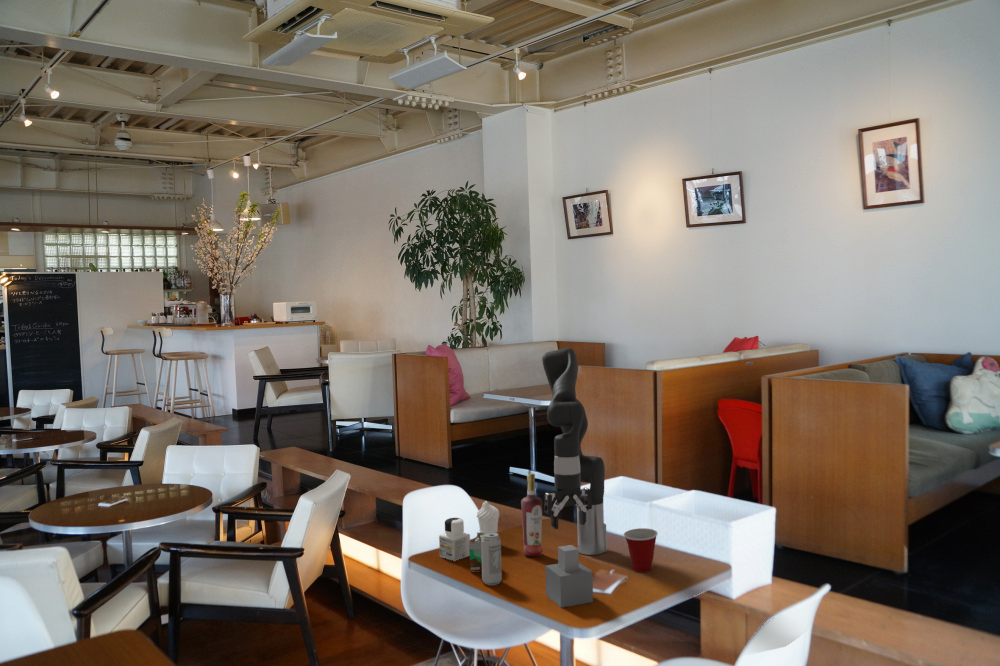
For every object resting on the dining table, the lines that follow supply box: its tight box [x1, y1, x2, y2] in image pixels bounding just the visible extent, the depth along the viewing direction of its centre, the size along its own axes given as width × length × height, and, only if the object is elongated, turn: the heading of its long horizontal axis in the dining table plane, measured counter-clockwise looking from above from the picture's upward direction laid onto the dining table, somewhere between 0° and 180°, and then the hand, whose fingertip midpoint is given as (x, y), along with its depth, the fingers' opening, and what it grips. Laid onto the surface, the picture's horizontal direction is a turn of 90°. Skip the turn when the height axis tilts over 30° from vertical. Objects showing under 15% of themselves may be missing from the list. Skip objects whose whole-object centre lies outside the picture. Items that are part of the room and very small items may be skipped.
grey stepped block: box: [544, 544, 594, 609], centre depth 212 cm, size 10×10×15 cm
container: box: [438, 517, 471, 562], centre depth 253 cm, size 8×8×13 cm
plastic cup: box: [623, 527, 659, 573], centre depth 235 cm, size 11×11×12 cm
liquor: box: [520, 473, 543, 557], centre depth 252 cm, size 7×7×28 cm
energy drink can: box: [481, 532, 503, 586], centre depth 227 cm, size 6×6×15 cm
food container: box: [469, 531, 485, 572], centre depth 241 cm, size 12×6×10 cm, turn 168°
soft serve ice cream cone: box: [476, 500, 500, 533], centre depth 265 cm, size 8×8×16 cm
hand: (568, 526), depth 211 cm, fingers open, 8 cm apart
